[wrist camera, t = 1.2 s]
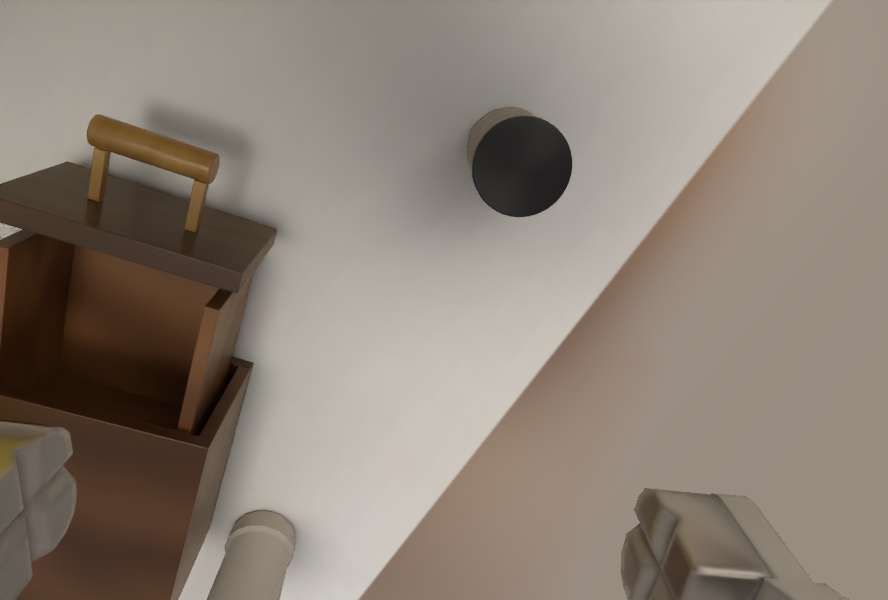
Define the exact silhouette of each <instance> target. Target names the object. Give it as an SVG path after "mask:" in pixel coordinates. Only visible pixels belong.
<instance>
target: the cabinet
mask: <svg viewBox="0 0 888 600" xmlns="http://www.w3.org/2000/svg"><path fill="white" fill-rule="evenodd" d="M252 367H253V363H252V362H248V361H244V360H241V359H237V358H234V357H232V359H231V363H230V367H229V371H228V375H227V379H226V383H225V387H224V391H223V395H222V396H221V398H220V400H219V402H218V403H217V405H216V407H215V409H214V410H213V412H212V414H211V416H210V418H209V419H208V421H207V423H206V425H205V426H204V428H203V430H202V432H201V433H200V435H199V436H196V435H192V434H188V433H184V432H180V431H176V430H173V429H169V428H165V427H161V426H157V425H153V424H149V423H146V422H142V421H138V420H134V419H130V418H126V417H122V416H119V415H115V414H111V413H107V412H103V411H99V410H95V409H92V408H88V407H84V406H80V405H76V404H72V403H68V402H65V401H61V400H57V399H53V398H49V397H45V396H41V395H38V394H34V393H30V392H26V391H22V390H18V389H14V388H11V387H7V386H3V385H0V419H5V420H12V421H20V422H28V423H36V424H44V425H52V426H60V427H63V428H64V429H66V430H67V431H68V432H70V436H71V443H72V449H73V454H72V455H71V456H70V457H69V459H68V460H67V461H66V462H65V463H64V464H63V466H64V467H65V468H66V470H67V471H68V472H69V473H70V474H71V475H72V476H73V477H74V479H75V480H76V489H77V498H76V505H75V512H74V515H73V517H72V519H71V522H70V524H69V527H68V529H67V532H66V534H65V535H64V536H63V538H62V539H61V541H60V542H59V543H58V545H57V546H56V547H55V549H54V550H53V551H51V552H49V553H48V554H46V555H44V556H42V557H40V558H38V559H37V560H35V561H33V562H31V568H32V576H33V578H32V579H31V580H30V581H29V583H28V584H27V585H26V587H25V588H24V589H23V591H22V592H21V593H20V594H19V596H18V597H17V598H16V600H178V599H179V597H180V594H181V592H182V590H183V588H184V585H185V583H186V581H187V578H188V576H189V574H190V572H191V569H192V567H193V565H194V562H195V560H196V558H197V556H198V553H199V551H200V549H201V546H202V544H203V542H204V540H205V537H206V535H207V533H208V530H209V528H210V524H211V520H212V517H213V513H214V509H215V505H216V502H217V498H218V494H219V490H220V487H221V483H222V479H223V475H224V472H225V468H226V464H227V460H228V457H229V453H230V449H231V446H232V442H233V438H234V434H235V431H236V427H237V423H238V419H239V416H240V412H241V408H242V404H243V401H244V397H245V393H246V389H247V386H248V382H249V378H250V375H251V371H252Z"/></svg>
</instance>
